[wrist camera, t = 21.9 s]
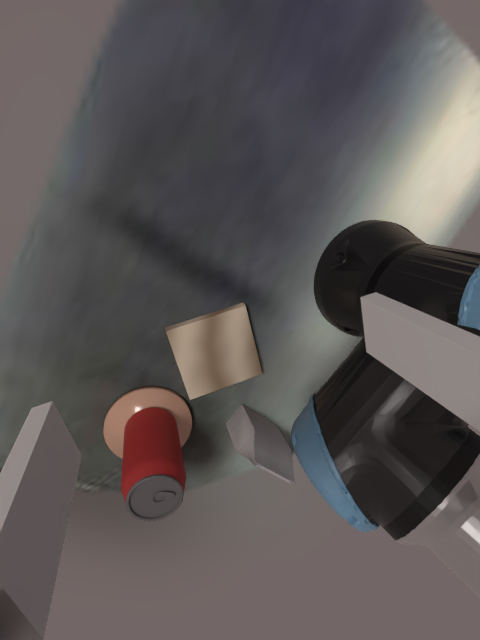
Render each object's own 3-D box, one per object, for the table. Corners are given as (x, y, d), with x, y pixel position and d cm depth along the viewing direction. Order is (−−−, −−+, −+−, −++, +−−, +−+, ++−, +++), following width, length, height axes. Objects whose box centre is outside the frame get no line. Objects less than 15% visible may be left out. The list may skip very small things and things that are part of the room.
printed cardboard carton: (242, 403, 50) (265, 451, 41) (276, 424, 53) (304, 473, 44) (225, 423, 51) (244, 474, 42) (260, 443, 53) (285, 495, 44)
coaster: (177, 374, 46) (177, 377, 45) (200, 440, 50) (201, 444, 49) (90, 403, 44) (89, 408, 44) (122, 469, 49) (122, 475, 48)
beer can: (177, 444, 48) (189, 518, 38) (126, 452, 47) (123, 532, 36) (176, 401, 46) (188, 466, 35) (121, 408, 45) (116, 478, 34)
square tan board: (242, 302, 45) (245, 305, 44) (259, 370, 49) (262, 374, 48) (165, 327, 44) (165, 331, 43) (188, 395, 48) (189, 399, 46)
